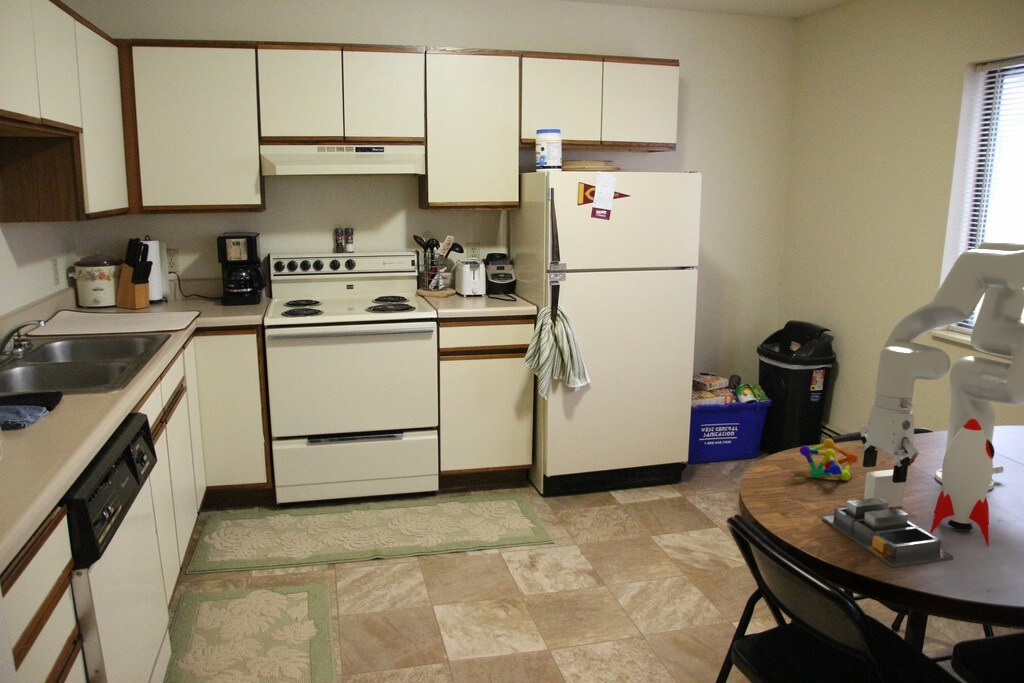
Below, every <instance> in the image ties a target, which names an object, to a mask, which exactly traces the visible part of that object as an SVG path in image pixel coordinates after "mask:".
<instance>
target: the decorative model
mask: <svg viewBox="0 0 1024 683" xmlns="http://www.w3.org/2000/svg"><path fill="white" fill-rule="evenodd" d="M824 448H826V449H825V450H822V449H824ZM835 451H836V452H837V453H840V454H841V455H843V456H845V458H841V459H839V460H837V458H836V457H835V456H836V452H835ZM799 453H800V455H802V456H804V457H805V458H806V460H807V463H808V464H809V467H810V469H811V470H810V472H809V473H810V476H811V477H812V478H814V479H819V478H821V476H823V477H838V478H839V479H840V480H842V481H848V480H849V479H850V478H851V474H850V469H851V467H852V465H853V464H855V463H856V462H857V461H858V460H859V458H858V455H857V454H856V453H855V452H850V453H849V452H847V451H845V450H844V449H842V448H841V447H839V446H837V445H835V442H834V440H833V439H832V438H825V439H824V440H823V443H821V444H818V445H815V446H814V447H812V448H811V447H809V445H802V446H800V447H799ZM815 455H816V456H824V457H823V459H822V460H821V462H820V463H819V464H818V465H817V467H816V464H815V460H814V459H813V456H815ZM845 463H847V464H846V465H845V467H844V469H843V467H842V466H841V465H842V464H845ZM823 467H824V469H823Z"/></svg>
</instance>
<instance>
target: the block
mask: <svg viewBox="0 0 1024 683" xmlns="http://www.w3.org/2000/svg"><path fill="white" fill-rule="evenodd" d="M893 470H894V468H893V469H885V470H877V471H876V470H875V471H867V472H866V476H865V484H864V485H865V486H864V493H863V494H864V495H863V499H869V498H877V497H879V498H881V499H883V500H885V501H886V502H888V503H889V504H888V507H893V508H897V507H896V506H901V507H903V503H904V494H905V485H906V482H902V483H894V482H892V477H893Z"/></svg>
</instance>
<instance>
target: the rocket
mask: <svg viewBox="0 0 1024 683" xmlns="http://www.w3.org/2000/svg"><path fill="white" fill-rule="evenodd" d="M945 450H946V449H945ZM994 457H995V447H994V445H993V442H992V443H991V442H990V441H989V440H988V439H986V437H985V435H984V432H983V430H982V428H981V426H980V424H979V423H978V421H977V420H976V419H970V420H968V421H967V422H966V423H965V424H964V426H963V427H962V428H961V429H960V430H959V432H958V433H957V434H956V435H955V437H954V438H953V439H952V441H951V442H950V444H949V446H948V448H947V450H946V453H945V452H944V456H943V460H942V467H941V469H942V490H941V491H940V492H939V495H938V498H937V500H936V504H935V507H934V509H933V510H934V511H933V514H934V515H933V520H932V523H931V528H930V530H929V531H930V532H929V534H931V535H932V533H934V531H935V530H936V529H937V528H938V526H939V525H940V524H941V523H942V521H944V519H946V518H948V519H949V521H948V522H947V525H948V526H949V527H950V528H952V529H955V530H958V531H964V532H967V531H968V532H970V531H972V530H973V529H974V528H973V523H975V524H977V526H978V527H979V530H980V532H981V534H982V536H983V539H984V541H985V543H986V545H987V547H989V546H990V542H989V541H990V539H989V535H990V534H989V532H990V530H989V526H990V511H989V510H990V509H989V502H988V499H987V498H988V497H987V494H988V491H989V490H988V489H989V486H990V482H991V479H992V477H993V475H992V472H993V466H994V464H993V463H994V462H993V461H994V460H993V459H994ZM988 525H989V526H988Z"/></svg>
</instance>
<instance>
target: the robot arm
mask: <svg viewBox="0 0 1024 683" xmlns="http://www.w3.org/2000/svg"><path fill="white" fill-rule="evenodd" d="M982 298H983V300H982V303H981V306H980V308H979V310H978V311H979V312H978V314H977V317H976V320H975V322H974V325H973V327H972V331H971V334H970V344H971V346H972V347H973V348H974V349H975V350H977V351H979V352H981V353H985V354H988V355H994V356H999V357H1003V358H1008V359H1011V363H1009V362H1003V361H999V360H996V359H991V358H986V357H985V358H984V357H982V356H981V357H980V356H970V355H969V356H963V357H959V358H958V359H957V360H956V361H954V362H953V364H952V366H951V358H950V356H949V354H948V353H947V352H946V351H945V350H943V349H941V348H938V347H936V346H931V345H925V344H921V343H918V342H917V343H916V342H915V341H916V339H917V338H918V337H920V336H921V335H923V334H925V333H926V332H928V331H930V330H933V329H938V328H940V327H944V326H946V327H947V326H950V325H953V324H958V323H961V322H965V321H967V320H968V319H970V318H971V316H972V315H973V313H974V311H975V310H976V308H977V306H978V304H979V303H980V301H981V299H982ZM1023 312H1024V240H1018V239H1007V238H1006V239H1004V238H1003V239H1001V238H997V239H995V238H994V239H988V240H984V241H983V242H981V243H980V244H979V245H978V247H977V249H976V248H975V249H969V250H965V251H963V252H962V253H961V254H959V256H958V257H957V258H956V260H955V262H954V263H953V265H952V266H951V268H950V270H949V271H948V274H947V275H946V276H945V278H944V280H943V282H942V284H941V285H940V287H939V288H938V291H937V292H936V293H935V296H934V297H933V298H932V299H931V301H929V302H927V303H926V304H923V305H921V306H920V307H918V308H916V309H915V310H913V311H912V312H910V313H909V314H907V315H906V316H904V317H903V318H902V319H901V320H900V321H899V322H897V324H896V325H895V326H894V328H893V330H891V333H890V334H889V336H888V337H887V339H886V341H885V343H884V345H883V348H882V349H881V351H880V353H879V359H878V367H877V373H876V375H877V377H876V383H875V384H876V385H875V393H874V400H873V401H874V402H873V404H872V406H871V409H870V413H869V416H868V421H867V426H861V427H860V428H859V431H860V435H861V443H862V449H863V450H864V452H863V459H862V467H864V468H875V467H876V466H877V460H878V452H879V451H878V450H880V451H882V452H883V453H886V454H888V455H891V456H893V459H894V461H895V464H894V466H893V469H894V470H893V469H892V470H893V477H892V482H894V483H902V482H905V483H906V482H907V478H908V477H907V476H908V469H909V467H911V465H912V464H913V463H914V462H915V460H916V459H917V457H918V455H919V451H918V450H917V448H916V447H915V445H914V439H915V418H914V412H913V411H911V410H912V408H913V398H914V397H913V396H914V388H915V383H916V380H920V381H921V380H923V381H935V380H938V379H941V378H943V377H944V376H946V375H947V373H948V372H949V386H950V410H949V419H948V427H947V428H948V429H947V434H946V444H945V451H944V454H945V453H946V450H947V448H948V446H949V444H950V442H951V441H952V439H953V438H954V437H955V435H956V434H957V433H958V432H959V430H960V429H961V428H962V427H963V426H964V424H965V423H966V422H967V421H968V420H970V419H976V420H977V421H978V423H979V424H980V426H981V428H982V430H983V432H984V435H985V437H986V439H988V440H989V441H990V442H991V443H992V444H993V438H994V431H995V424H996V413H995V409H994V406H993V403H992V402H994V403H997V404H1002V405H1006V406H1010V407H1018V406H1022V405H1024V318H1022V315H1023ZM901 457H902V459H901ZM1004 470H1005V469H1004V466H1002V465H1001V464H999V465H993V472H992V476H993V475H995V474H1003V473H1004ZM934 473H935V474H934V475H935V476H934V477H935V479H936V480H937V481H938V482H940V483H942V468H939V469H937V470H936V471H935V472H934ZM942 484H943V483H942ZM994 487H995V480H994V479H992V478H991V482H990V486H989V489H988V491H990V490H992V489H994Z"/></svg>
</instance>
